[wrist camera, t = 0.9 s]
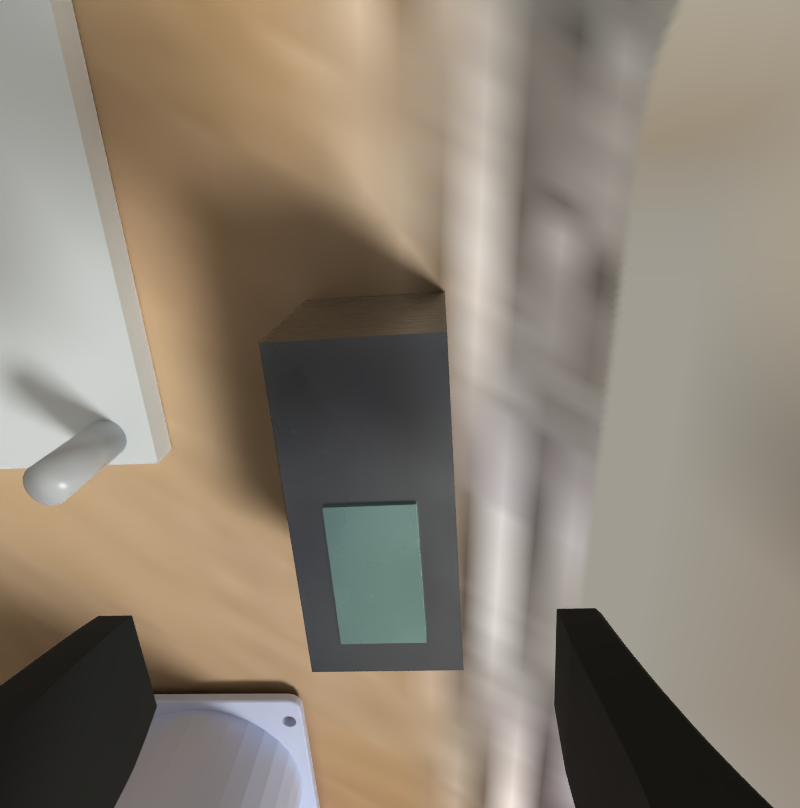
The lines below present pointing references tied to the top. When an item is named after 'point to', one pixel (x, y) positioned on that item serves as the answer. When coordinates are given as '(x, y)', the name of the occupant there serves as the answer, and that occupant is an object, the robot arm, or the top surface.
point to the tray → (64, 272)
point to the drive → (369, 479)
